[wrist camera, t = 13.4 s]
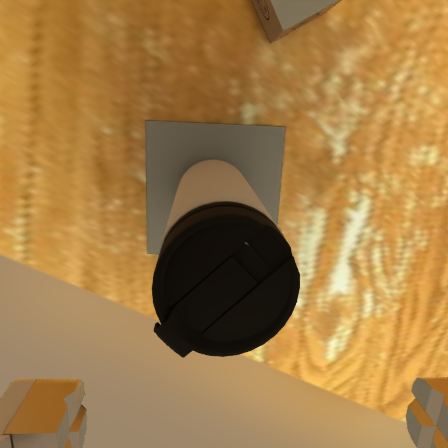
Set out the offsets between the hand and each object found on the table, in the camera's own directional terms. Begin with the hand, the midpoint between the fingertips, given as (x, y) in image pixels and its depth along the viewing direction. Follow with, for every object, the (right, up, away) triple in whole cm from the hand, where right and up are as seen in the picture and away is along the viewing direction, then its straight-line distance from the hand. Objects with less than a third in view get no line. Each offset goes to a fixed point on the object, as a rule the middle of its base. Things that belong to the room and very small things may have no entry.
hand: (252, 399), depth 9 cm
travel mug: (-2, +7, +25) cm, 26 cm away
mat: (-2, +7, +25) cm, 26 cm away
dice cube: (+4, +23, +21) cm, 31 cm away
